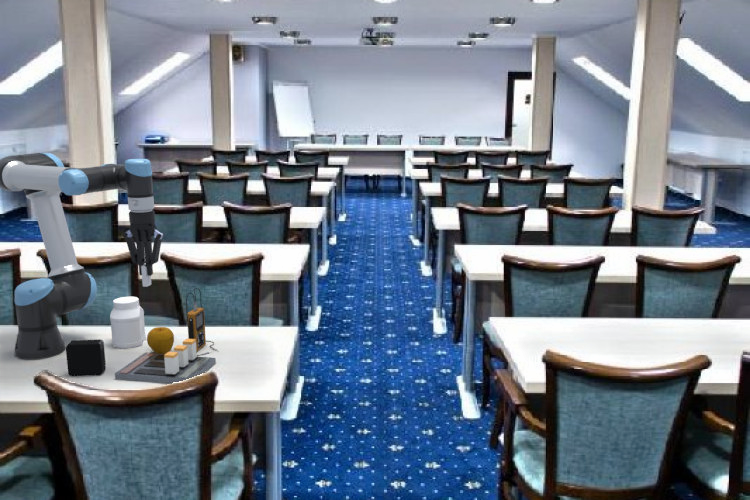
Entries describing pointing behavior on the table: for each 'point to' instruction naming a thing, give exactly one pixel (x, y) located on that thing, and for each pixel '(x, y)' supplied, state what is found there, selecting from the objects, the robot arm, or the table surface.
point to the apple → (160, 340)
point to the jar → (127, 323)
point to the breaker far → (191, 348)
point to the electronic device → (85, 357)
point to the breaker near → (171, 363)
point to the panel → (162, 369)
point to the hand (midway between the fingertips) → (147, 285)
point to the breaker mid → (182, 355)
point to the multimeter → (197, 325)
